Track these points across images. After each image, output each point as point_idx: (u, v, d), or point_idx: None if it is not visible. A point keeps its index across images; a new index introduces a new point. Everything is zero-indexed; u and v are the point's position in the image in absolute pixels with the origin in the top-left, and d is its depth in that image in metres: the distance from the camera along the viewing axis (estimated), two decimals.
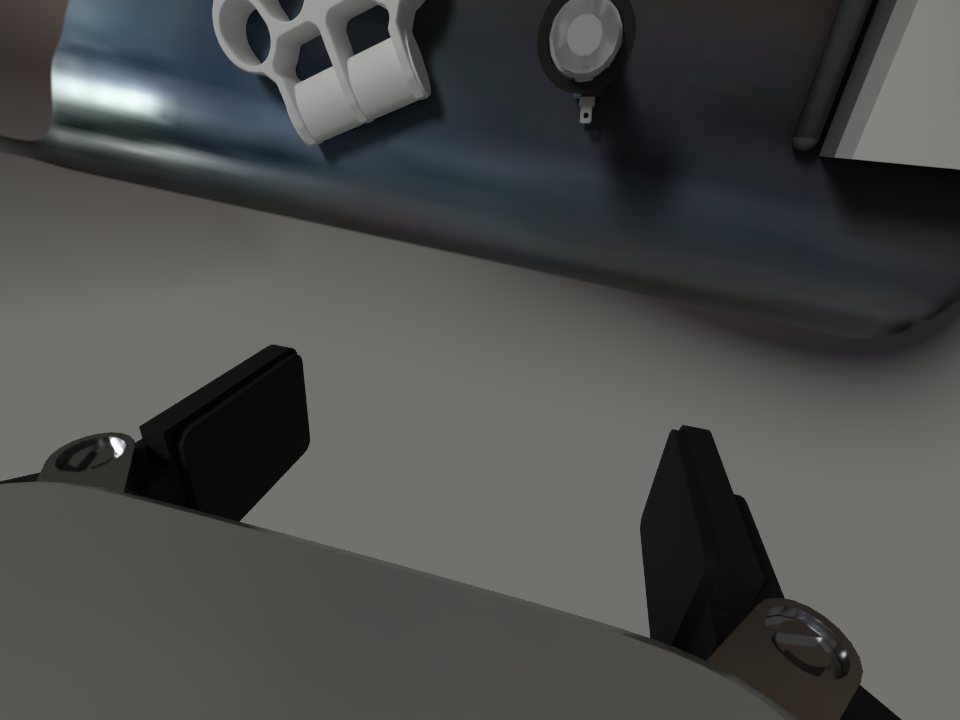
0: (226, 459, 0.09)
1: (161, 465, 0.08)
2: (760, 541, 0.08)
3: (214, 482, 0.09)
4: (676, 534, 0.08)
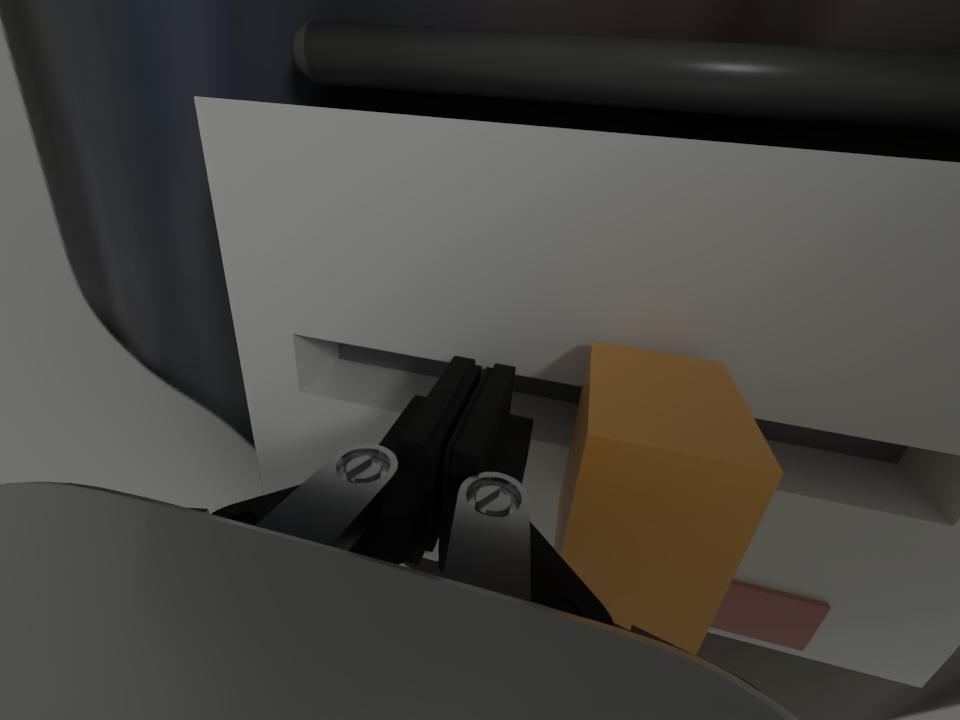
0: None
1: (413, 475, 0.09)
2: (524, 446, 0.10)
3: (440, 491, 0.10)
4: None
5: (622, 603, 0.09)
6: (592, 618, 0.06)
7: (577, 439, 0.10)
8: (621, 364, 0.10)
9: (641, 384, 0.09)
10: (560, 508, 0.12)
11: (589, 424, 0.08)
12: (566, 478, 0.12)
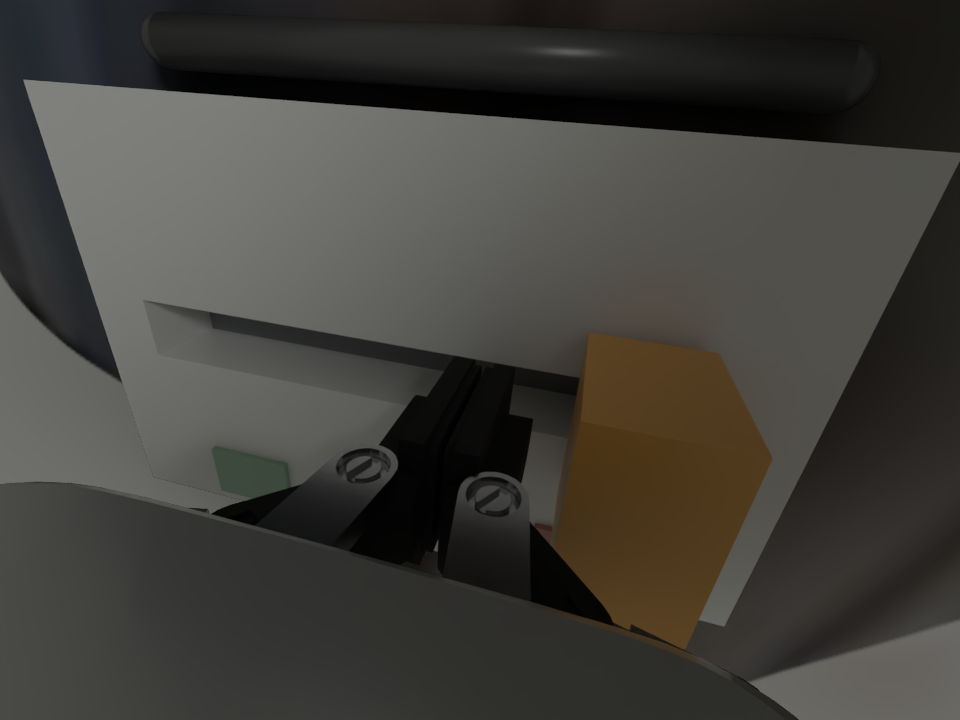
0: None
1: (413, 475, 0.09)
2: (524, 446, 0.10)
3: (440, 491, 0.10)
4: None
5: (617, 588, 0.09)
6: (591, 618, 0.06)
7: (573, 428, 0.10)
8: (616, 355, 0.10)
9: (636, 374, 0.09)
10: (558, 497, 0.12)
11: (582, 411, 0.08)
12: (564, 468, 0.12)
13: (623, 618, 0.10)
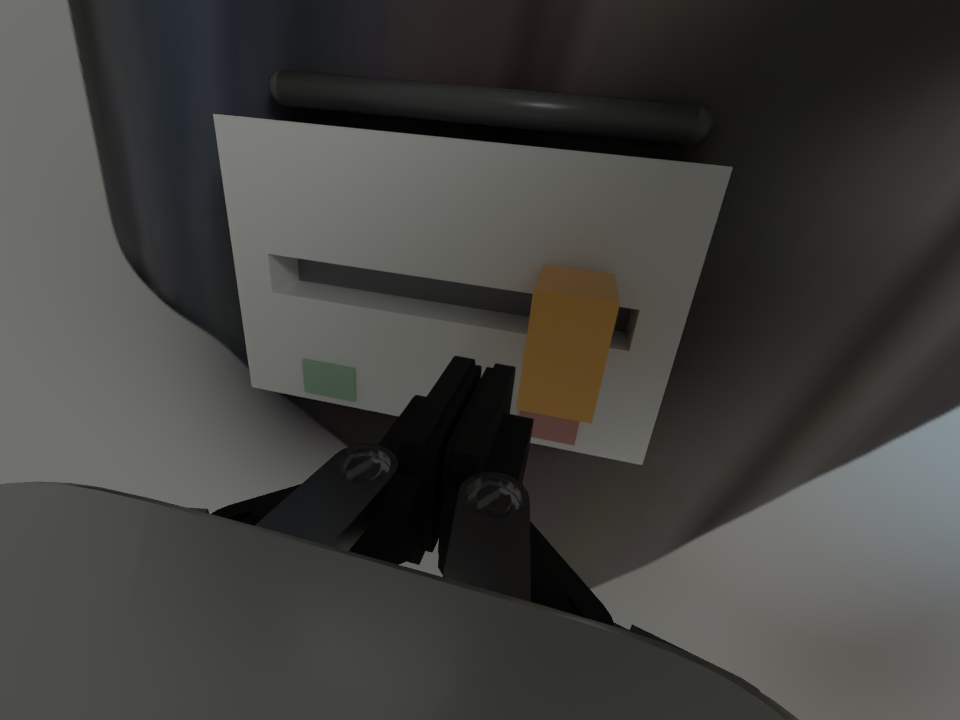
0: None
1: (413, 475, 0.09)
2: (524, 446, 0.10)
3: (440, 490, 0.10)
4: None
5: (555, 388, 0.18)
6: (592, 618, 0.06)
7: None
8: (557, 272, 0.19)
9: (565, 278, 0.18)
10: None
11: (535, 286, 0.17)
12: None
13: (559, 408, 0.18)
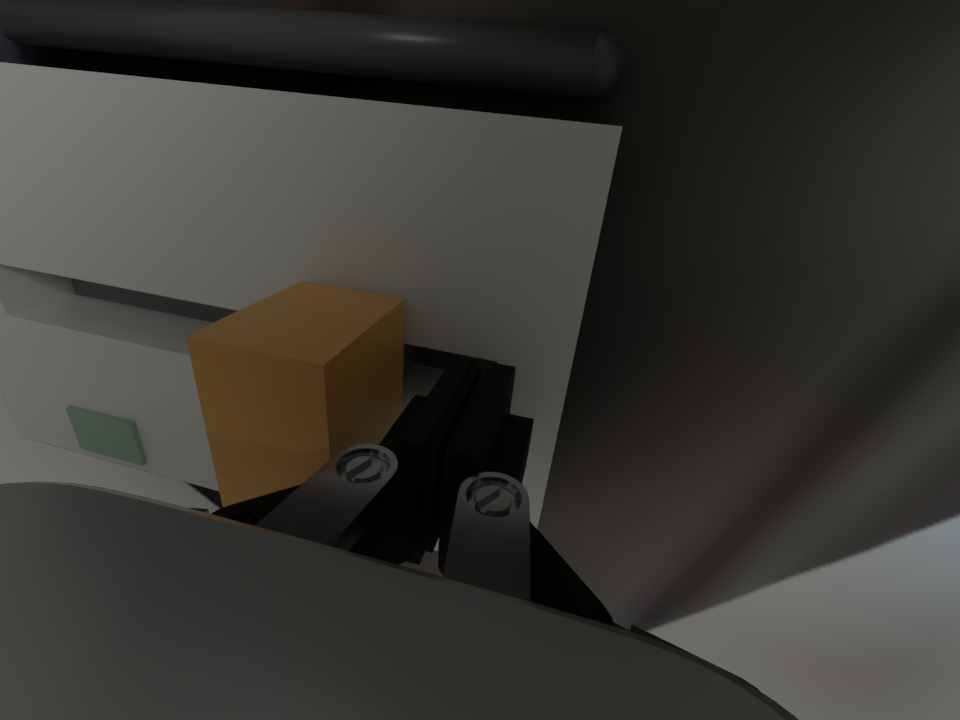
0: None
1: (413, 475, 0.09)
2: (524, 446, 0.10)
3: (440, 491, 0.10)
4: None
5: None
6: (592, 618, 0.06)
7: None
8: (300, 296, 0.12)
9: (295, 309, 0.11)
10: None
11: (198, 330, 0.09)
12: None
13: None
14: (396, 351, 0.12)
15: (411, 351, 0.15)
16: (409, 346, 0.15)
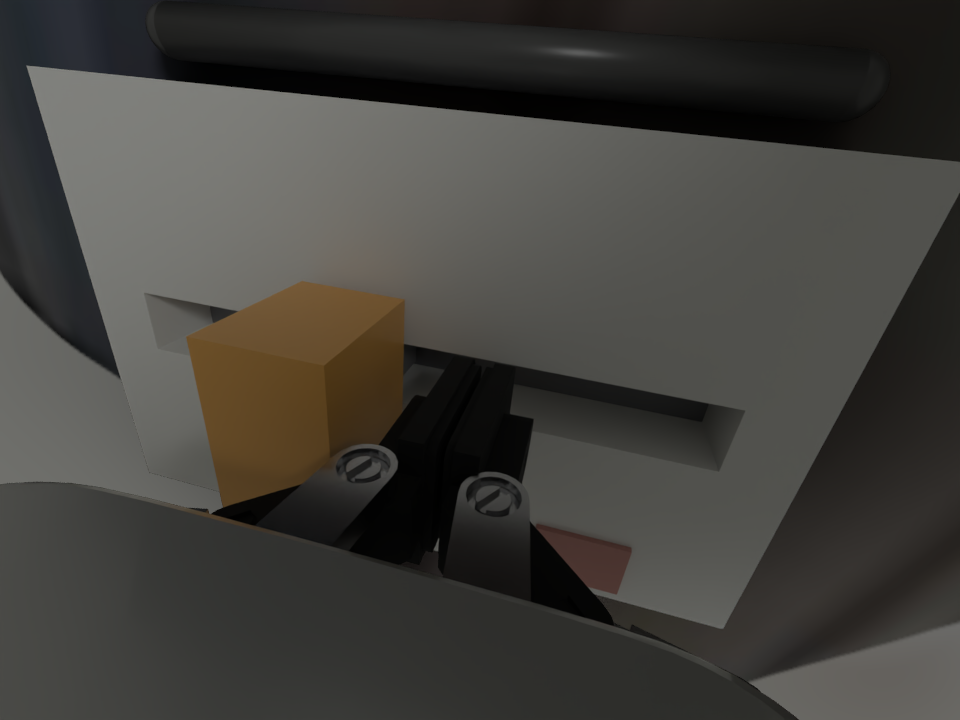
0: None
1: (413, 475, 0.09)
2: (524, 446, 0.10)
3: (440, 490, 0.10)
4: None
5: None
6: (592, 618, 0.06)
7: None
8: (300, 297, 0.12)
9: (296, 309, 0.11)
10: None
11: (198, 331, 0.09)
12: None
13: None
14: (396, 351, 0.12)
15: (411, 351, 0.15)
16: (409, 346, 0.15)
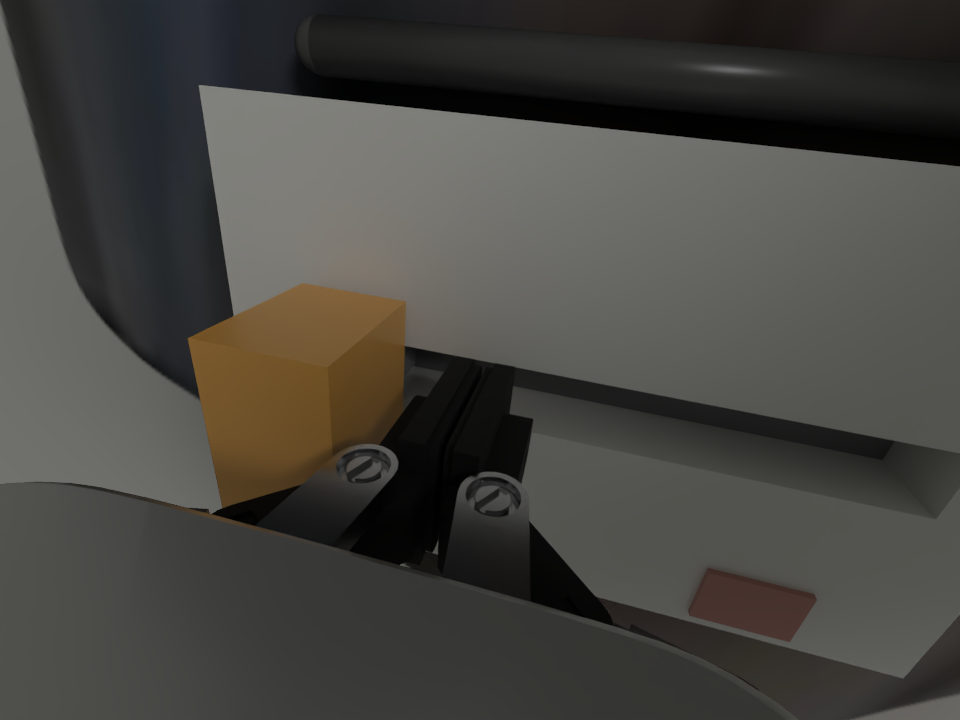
0: None
1: (413, 475, 0.09)
2: (524, 446, 0.10)
3: (441, 491, 0.10)
4: None
5: None
6: (592, 618, 0.06)
7: None
8: (301, 299, 0.12)
9: (297, 311, 0.11)
10: None
11: (200, 332, 0.09)
12: None
13: None
14: (397, 354, 0.12)
15: (411, 354, 0.15)
16: (409, 349, 0.15)
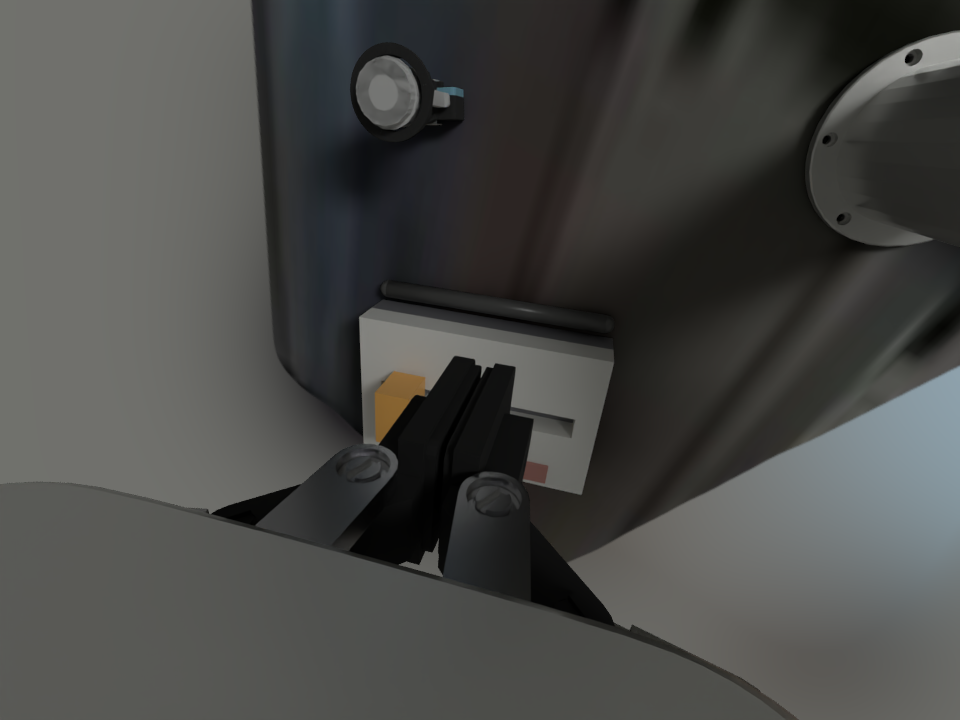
0: None
1: (413, 475, 0.09)
2: (525, 446, 0.10)
3: (440, 490, 0.10)
4: None
5: None
6: (592, 618, 0.06)
7: None
8: (395, 377, 0.40)
9: (396, 382, 0.40)
10: None
11: None
12: None
13: None
14: (423, 392, 0.41)
15: (426, 390, 0.44)
16: None
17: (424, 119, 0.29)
